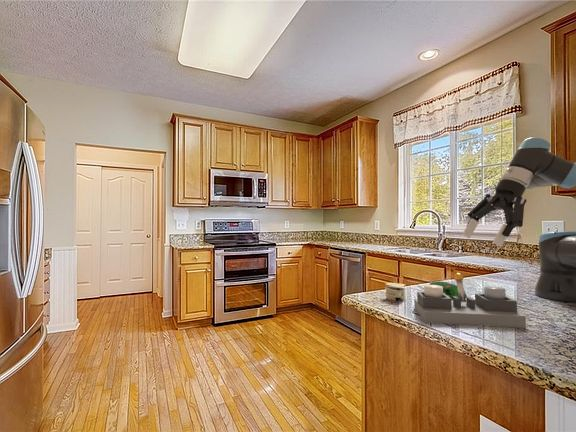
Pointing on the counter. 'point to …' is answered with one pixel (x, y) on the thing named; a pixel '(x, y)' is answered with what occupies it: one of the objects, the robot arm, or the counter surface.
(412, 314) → the counter surface
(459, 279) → the toggle lever
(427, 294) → the white button
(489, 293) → the grey blue button
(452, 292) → the snack package
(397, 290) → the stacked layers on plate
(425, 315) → the control panel
